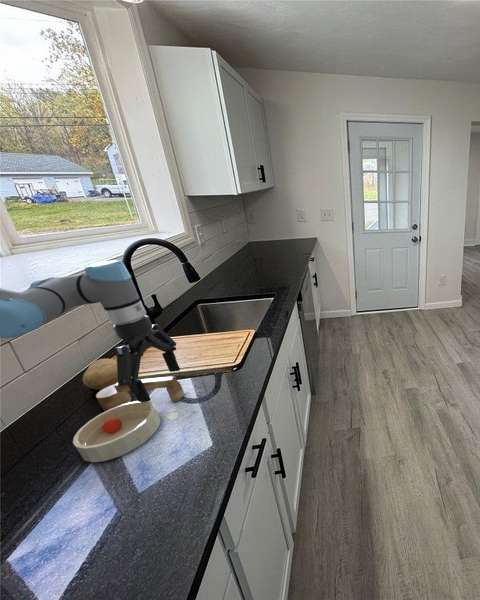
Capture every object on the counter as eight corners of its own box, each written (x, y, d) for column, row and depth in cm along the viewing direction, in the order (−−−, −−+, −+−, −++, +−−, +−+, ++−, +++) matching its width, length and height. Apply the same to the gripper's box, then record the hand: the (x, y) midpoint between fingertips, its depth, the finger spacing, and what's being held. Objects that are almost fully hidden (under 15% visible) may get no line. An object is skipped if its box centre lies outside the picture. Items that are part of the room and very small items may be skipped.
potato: (88, 404, 93) (75, 382, 90) (90, 383, 103) (79, 362, 100) (129, 388, 99) (118, 367, 95) (128, 370, 109) (118, 350, 106)
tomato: (102, 437, 79) (96, 426, 78) (113, 426, 82) (107, 415, 81) (117, 435, 79) (111, 424, 78) (127, 425, 83) (121, 414, 81)
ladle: (97, 413, 89) (86, 392, 86) (115, 398, 95) (104, 378, 92) (175, 405, 90) (166, 384, 87) (188, 390, 96) (179, 371, 93)
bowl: (64, 467, 72) (53, 451, 70) (116, 418, 86) (108, 403, 84) (133, 460, 73) (124, 444, 71) (173, 412, 87) (167, 397, 85)
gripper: (106, 341, 71) (144, 414, 79) (173, 299, 94) (197, 359, 102) (72, 345, 71) (114, 417, 79) (147, 302, 94) (173, 361, 102)
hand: (161, 385), depth 91 cm, fingers open, 13 cm apart
